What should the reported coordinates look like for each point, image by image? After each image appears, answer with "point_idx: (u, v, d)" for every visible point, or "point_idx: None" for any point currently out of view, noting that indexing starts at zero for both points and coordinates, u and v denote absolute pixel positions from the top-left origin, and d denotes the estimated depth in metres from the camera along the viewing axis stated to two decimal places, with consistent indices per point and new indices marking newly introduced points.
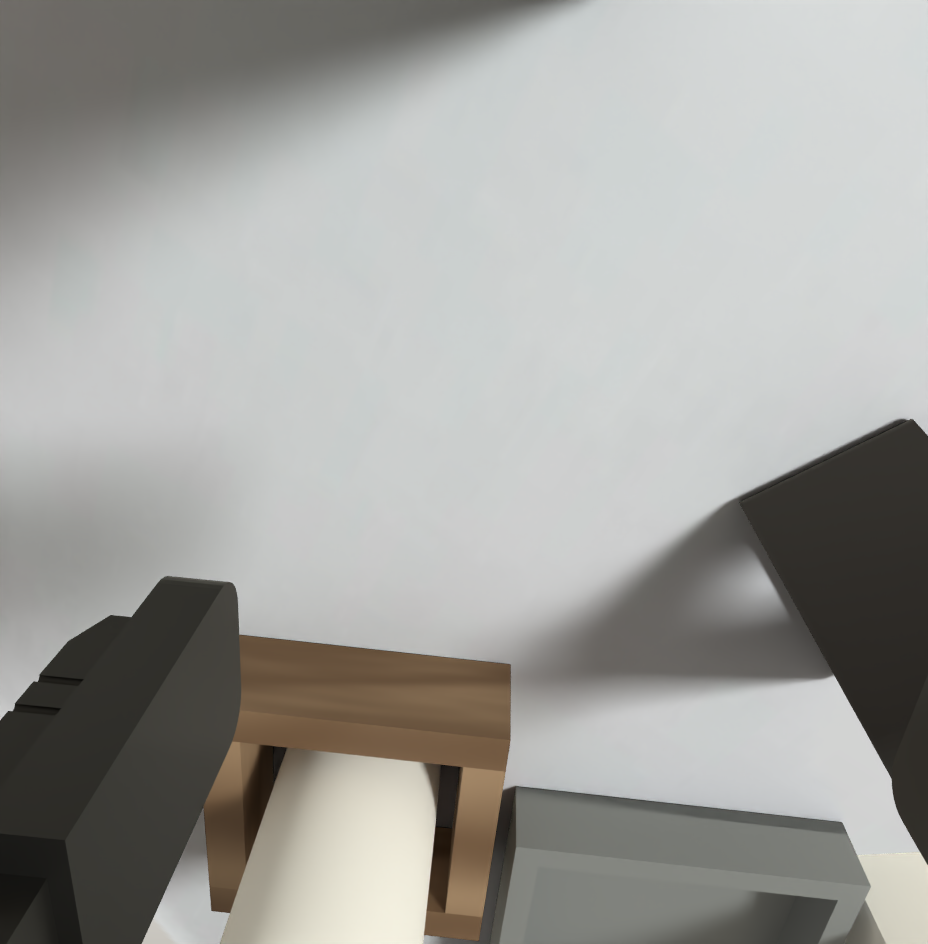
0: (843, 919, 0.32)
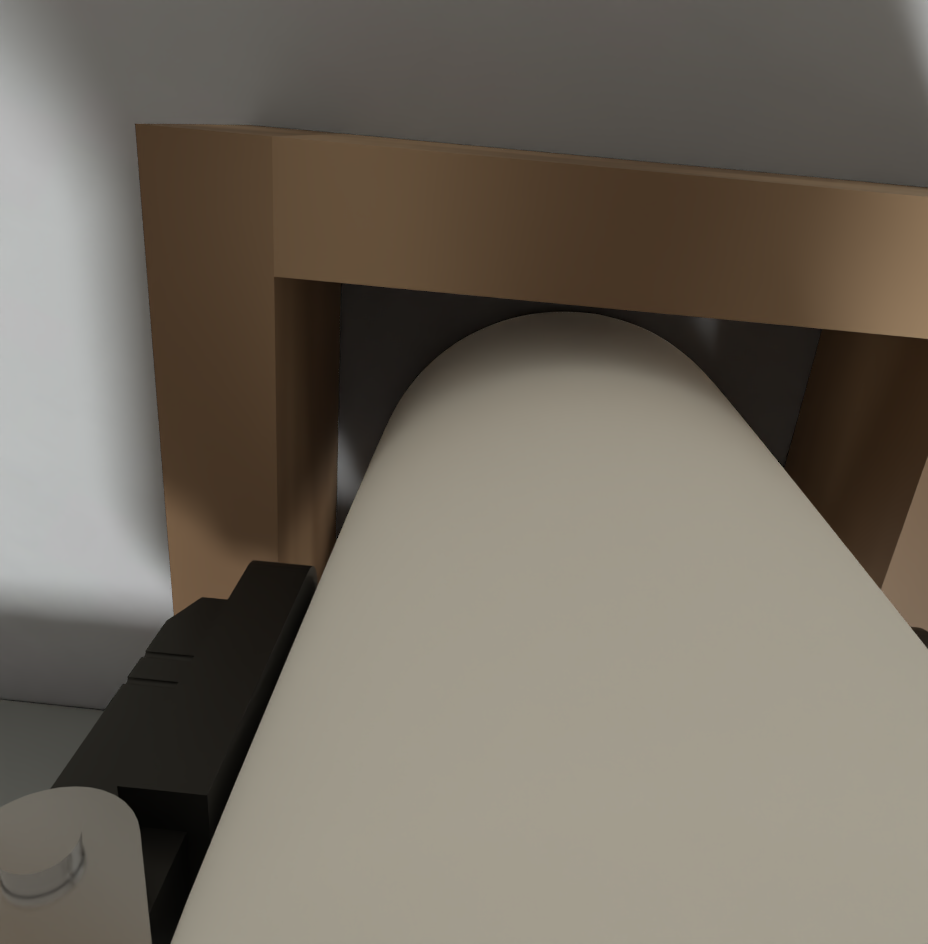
0: None
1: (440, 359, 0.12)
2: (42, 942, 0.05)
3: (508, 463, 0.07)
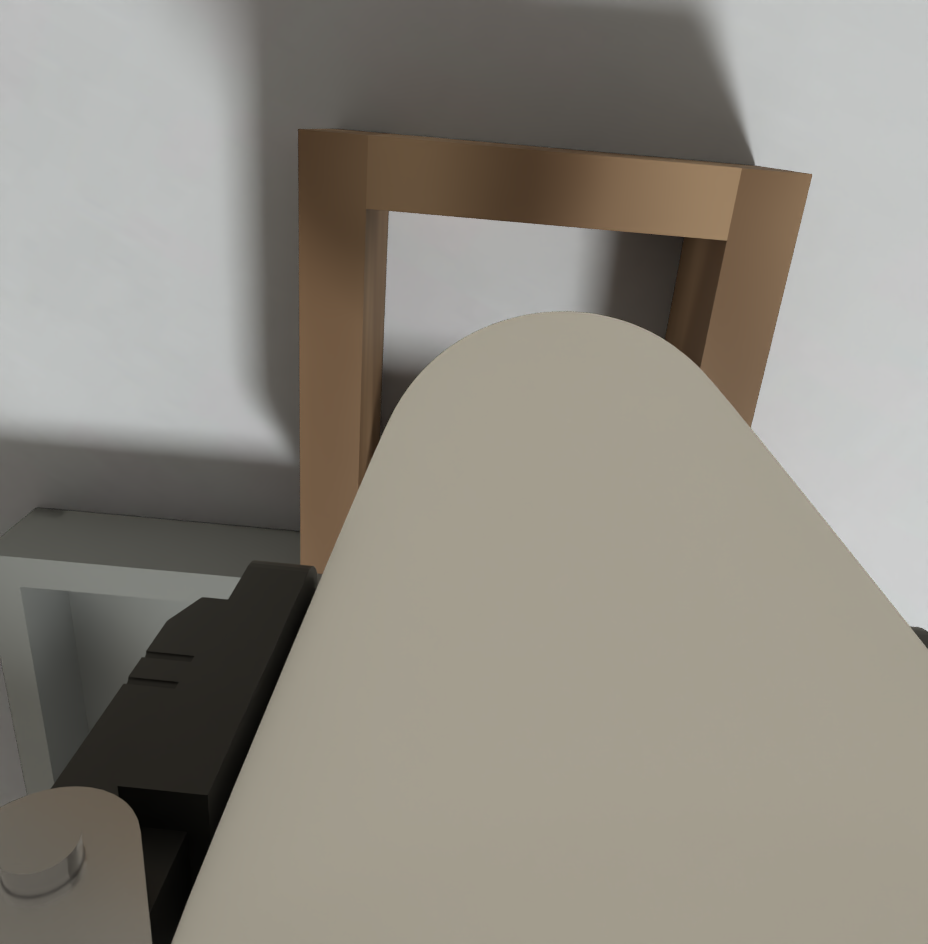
0: None
1: (440, 359, 0.13)
2: (43, 942, 0.05)
3: (507, 463, 0.07)
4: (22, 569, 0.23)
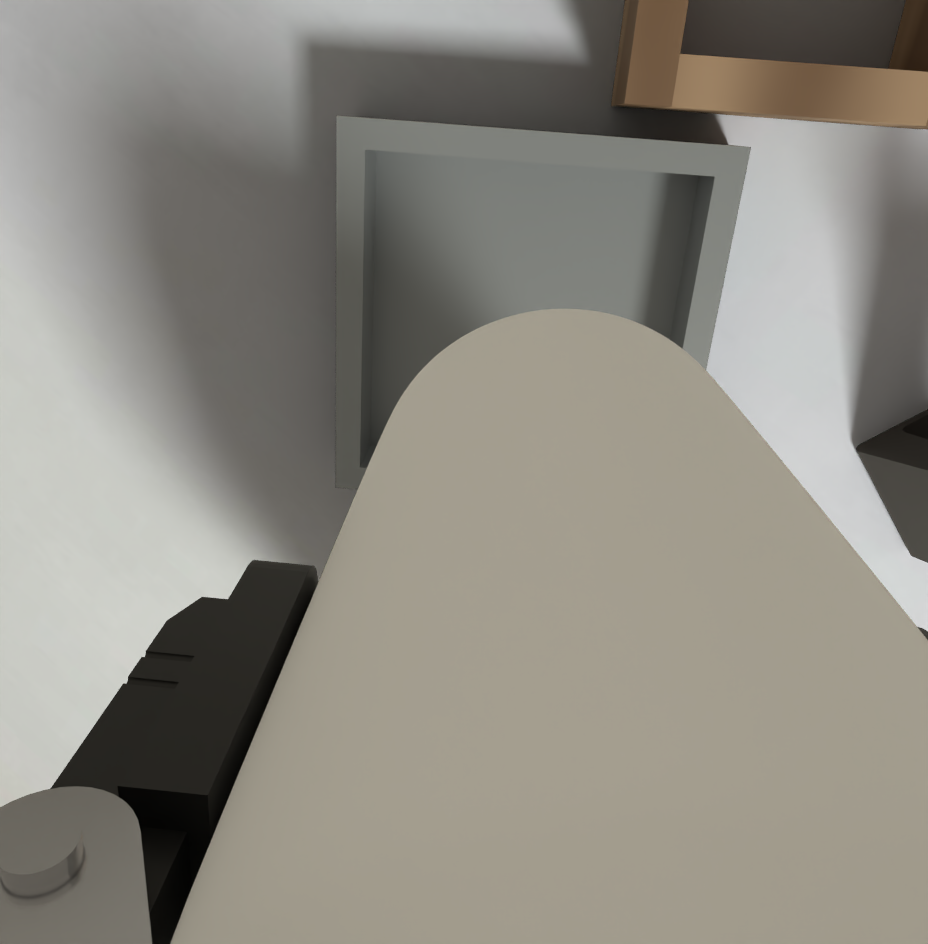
0: None
1: (440, 356, 0.12)
2: (43, 942, 0.05)
3: (510, 458, 0.07)
4: (370, 130, 0.27)
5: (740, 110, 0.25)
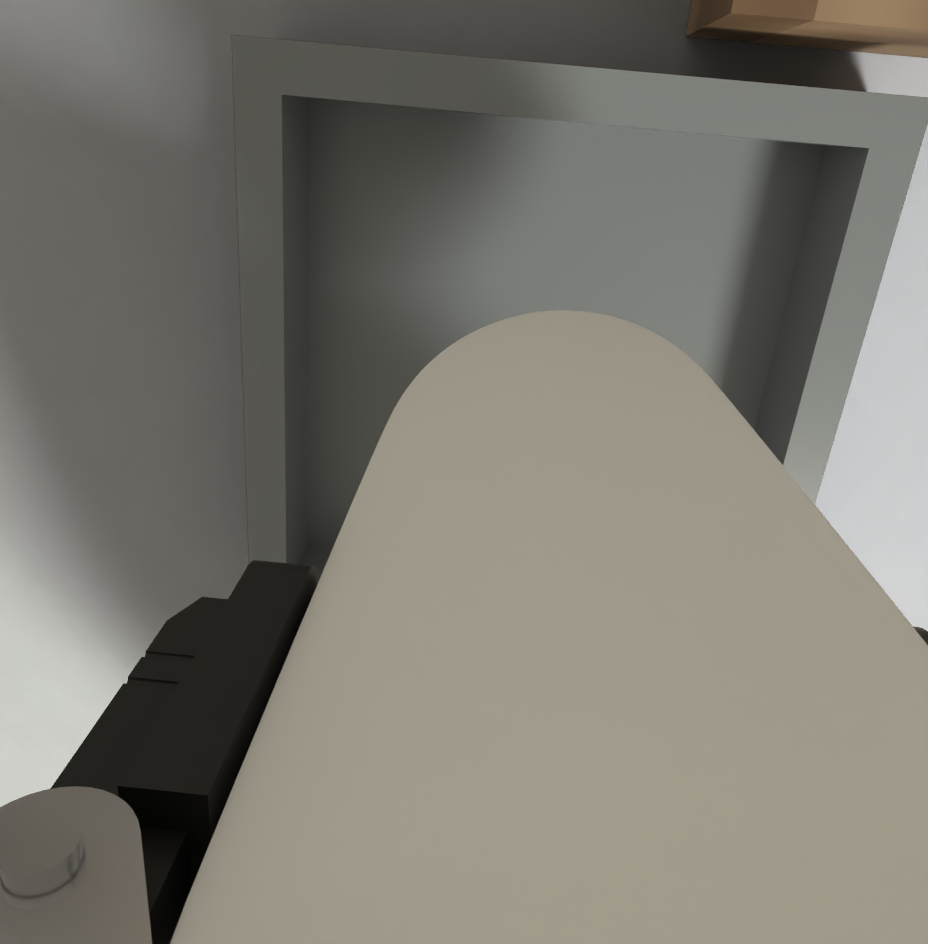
0: None
1: (440, 358, 0.12)
2: (43, 942, 0.05)
3: (507, 462, 0.07)
4: (290, 62, 0.16)
5: None
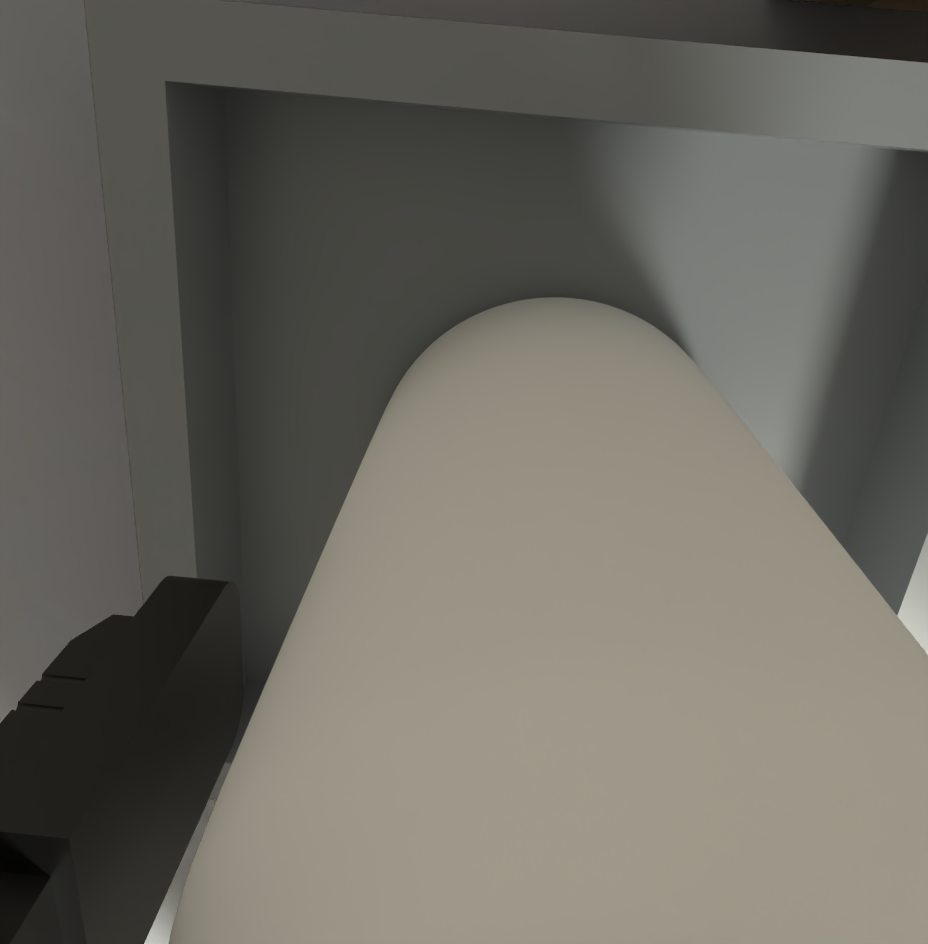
0: None
1: (438, 342, 0.13)
2: None
3: (499, 426, 0.08)
4: (175, 30, 0.10)
5: None
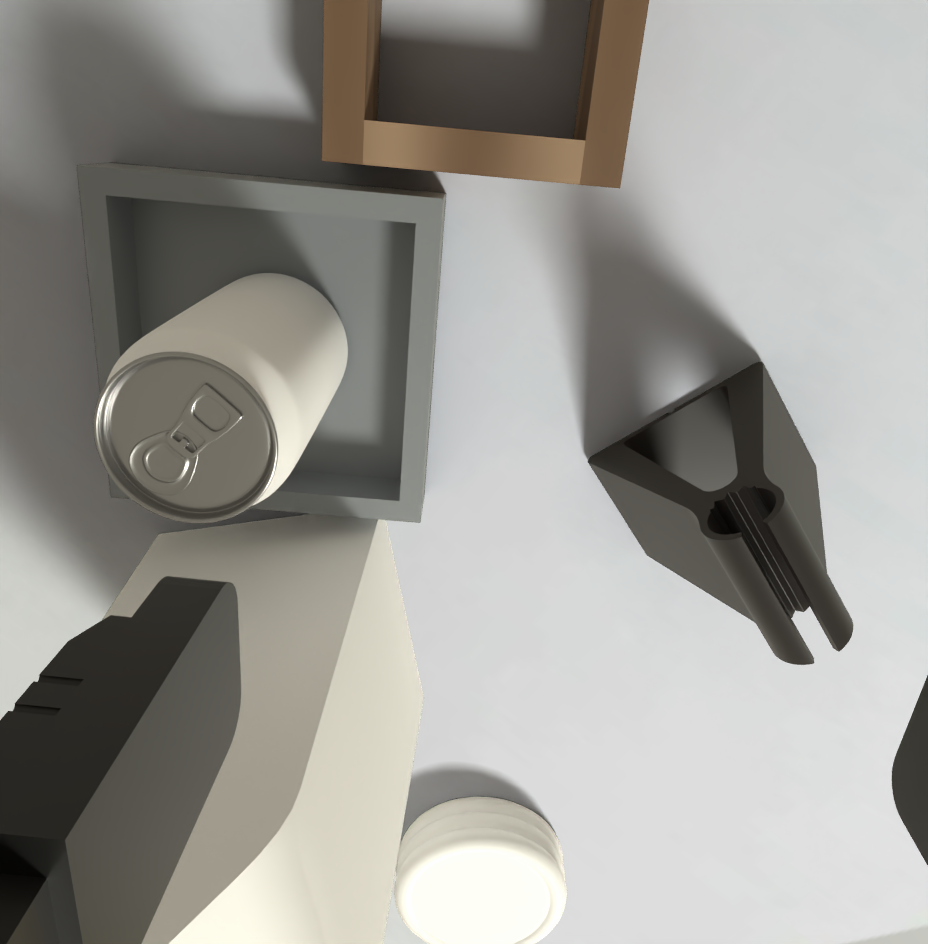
0: (375, 510, 0.35)
1: None
2: None
3: (200, 303, 0.28)
4: (108, 178, 0.30)
5: (421, 168, 0.29)
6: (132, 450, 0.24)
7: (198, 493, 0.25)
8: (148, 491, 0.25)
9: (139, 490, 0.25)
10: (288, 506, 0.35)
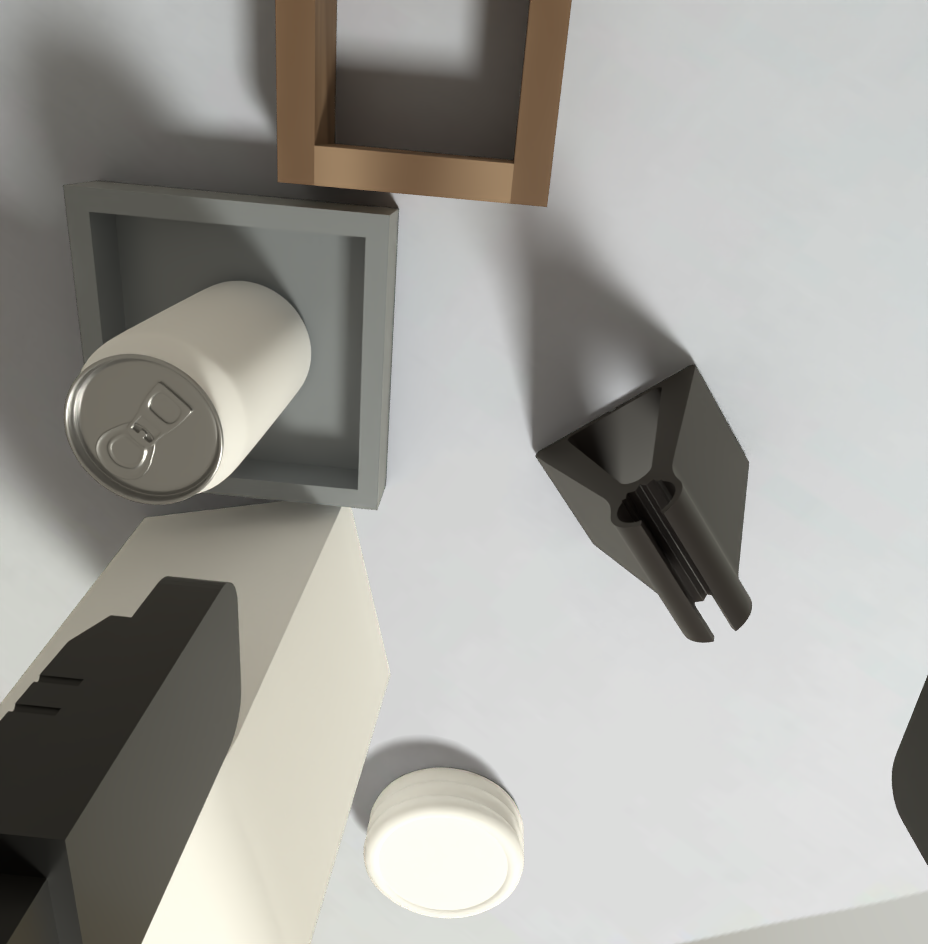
0: (335, 497, 0.39)
1: None
2: None
3: (166, 310, 0.31)
4: (91, 197, 0.34)
5: (366, 189, 0.32)
6: (98, 439, 0.28)
7: (156, 477, 0.28)
8: (113, 476, 0.28)
9: (105, 475, 0.28)
10: (256, 493, 0.39)
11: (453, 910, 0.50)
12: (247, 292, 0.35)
